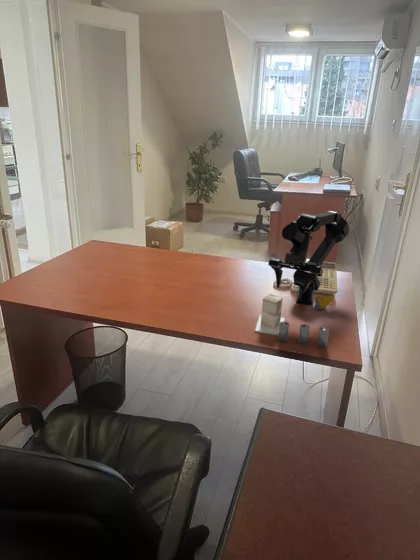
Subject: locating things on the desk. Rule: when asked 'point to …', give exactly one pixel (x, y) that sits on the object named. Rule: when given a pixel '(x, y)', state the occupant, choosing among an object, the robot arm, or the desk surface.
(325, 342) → the block
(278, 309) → the birch block
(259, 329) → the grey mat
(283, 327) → the steel spacer
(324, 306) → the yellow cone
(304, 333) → the cylinder
